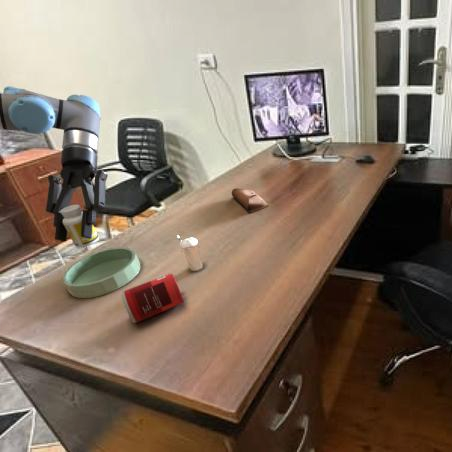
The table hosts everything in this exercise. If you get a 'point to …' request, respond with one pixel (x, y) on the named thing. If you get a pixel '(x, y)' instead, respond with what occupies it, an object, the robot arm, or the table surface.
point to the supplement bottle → (77, 226)
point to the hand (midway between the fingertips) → (73, 238)
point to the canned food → (152, 298)
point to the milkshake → (191, 253)
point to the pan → (101, 272)
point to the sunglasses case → (249, 199)
